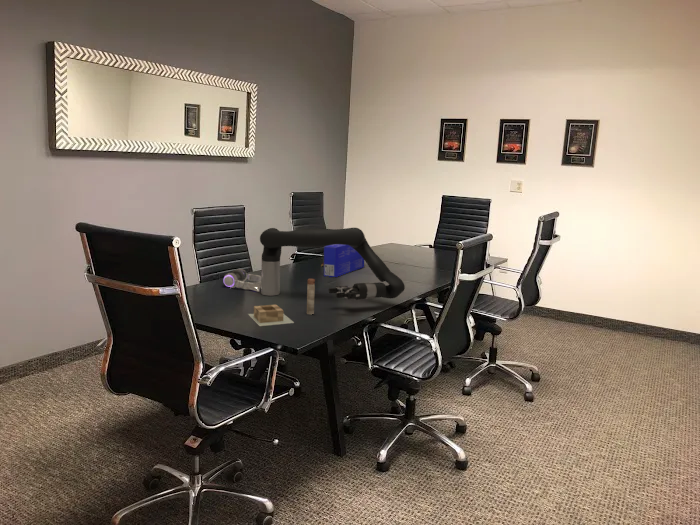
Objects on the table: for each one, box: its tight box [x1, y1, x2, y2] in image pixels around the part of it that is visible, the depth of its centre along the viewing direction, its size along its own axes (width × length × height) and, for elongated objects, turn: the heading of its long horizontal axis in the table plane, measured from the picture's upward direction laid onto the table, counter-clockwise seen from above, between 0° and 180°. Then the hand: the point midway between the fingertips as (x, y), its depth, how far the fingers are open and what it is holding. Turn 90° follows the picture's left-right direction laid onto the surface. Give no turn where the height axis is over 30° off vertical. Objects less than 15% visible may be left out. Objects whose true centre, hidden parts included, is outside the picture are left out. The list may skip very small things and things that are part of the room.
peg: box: [306, 278, 316, 316], centre depth 243 cm, size 3×3×16 cm
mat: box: [247, 313, 295, 327], centre depth 234 cm, size 18×15×1 cm
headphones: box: [223, 268, 261, 293], centre depth 290 cm, size 22×8×22 cm
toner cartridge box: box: [323, 244, 365, 278], centre depth 336 cm, size 39×8×18 cm, turn 152°
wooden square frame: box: [253, 304, 285, 323], centre depth 233 cm, size 10×10×4 cm
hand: (332, 293), depth 247 cm, fingers open, 8 cm apart
